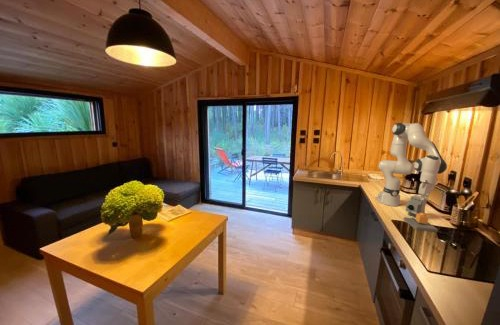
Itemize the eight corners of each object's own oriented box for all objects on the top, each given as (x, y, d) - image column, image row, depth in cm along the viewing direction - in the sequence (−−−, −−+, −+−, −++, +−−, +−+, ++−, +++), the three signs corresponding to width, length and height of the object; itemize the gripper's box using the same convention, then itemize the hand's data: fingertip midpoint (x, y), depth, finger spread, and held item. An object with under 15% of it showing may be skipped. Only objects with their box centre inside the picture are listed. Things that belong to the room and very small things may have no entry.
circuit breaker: (403, 215, 171) (406, 197, 168) (413, 212, 177) (416, 195, 175) (414, 219, 164) (417, 200, 162) (423, 216, 171) (427, 198, 168)
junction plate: (403, 219, 163) (404, 210, 161) (422, 221, 161) (424, 212, 160) (416, 229, 147) (418, 220, 146) (437, 232, 145) (439, 222, 144)
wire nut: (415, 219, 156) (417, 211, 155) (423, 220, 155) (425, 212, 154) (418, 222, 151) (420, 214, 150) (427, 223, 150) (428, 215, 149)
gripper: (429, 182, 140) (425, 203, 143) (438, 178, 153) (434, 197, 155) (417, 180, 145) (414, 200, 148) (427, 176, 158) (423, 194, 160)
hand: (424, 198), depth 152 cm, fingers open, 8 cm apart
